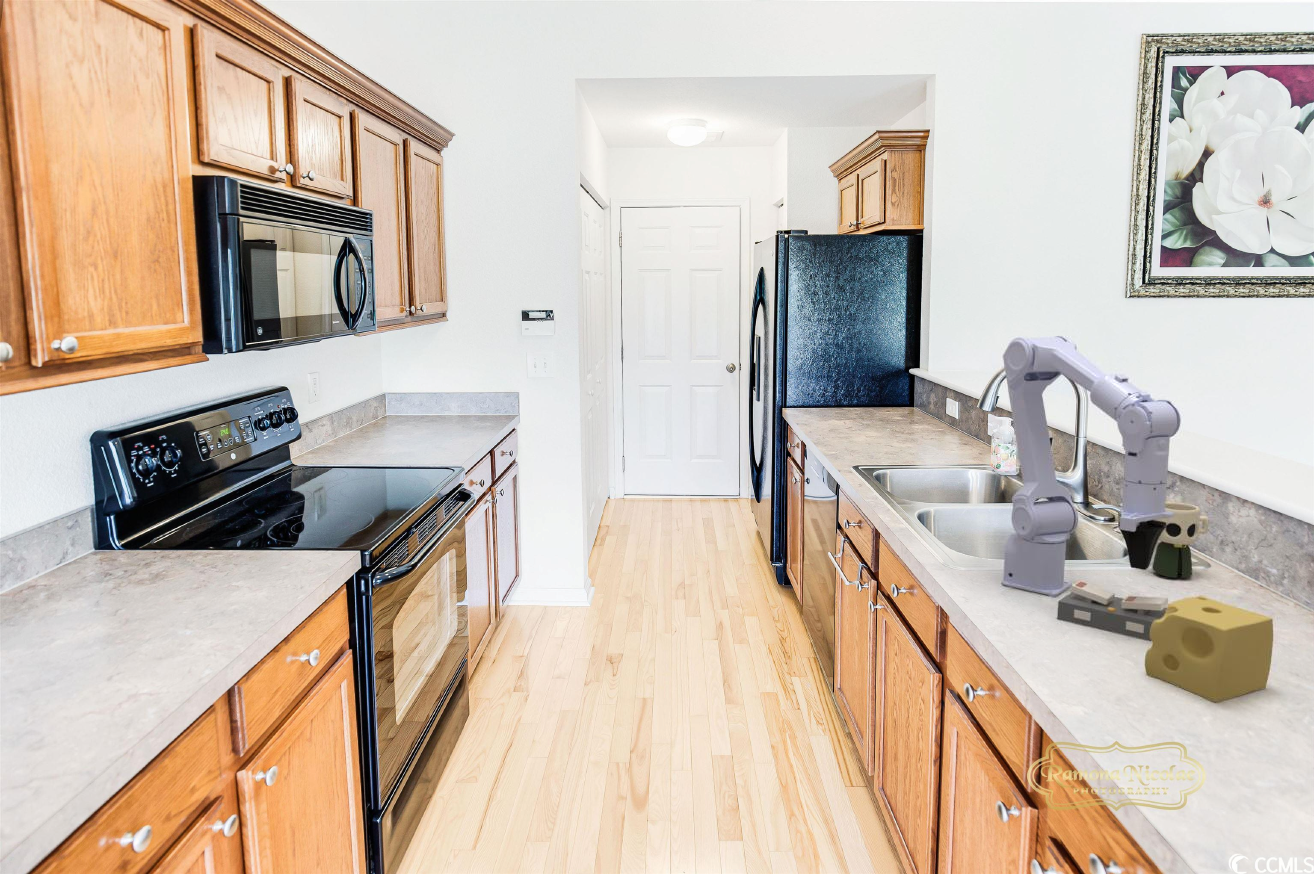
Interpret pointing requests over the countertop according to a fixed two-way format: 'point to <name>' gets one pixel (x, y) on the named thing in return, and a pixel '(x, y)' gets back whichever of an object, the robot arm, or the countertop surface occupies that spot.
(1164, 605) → the rocker
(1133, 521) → the robot arm
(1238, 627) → the cheese
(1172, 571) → the character mug
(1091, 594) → the rocker
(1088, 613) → the double switch panel
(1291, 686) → the countertop surface
